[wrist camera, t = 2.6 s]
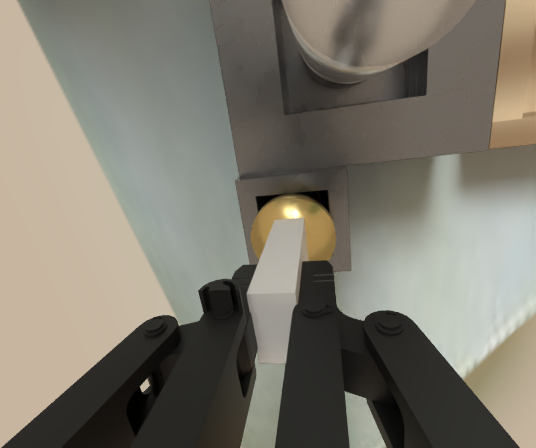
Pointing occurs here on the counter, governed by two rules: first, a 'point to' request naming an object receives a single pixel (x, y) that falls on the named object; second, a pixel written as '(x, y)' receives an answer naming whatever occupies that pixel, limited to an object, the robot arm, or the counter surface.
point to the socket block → (346, 108)
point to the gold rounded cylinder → (297, 206)
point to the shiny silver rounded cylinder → (366, 34)
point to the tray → (515, 78)
